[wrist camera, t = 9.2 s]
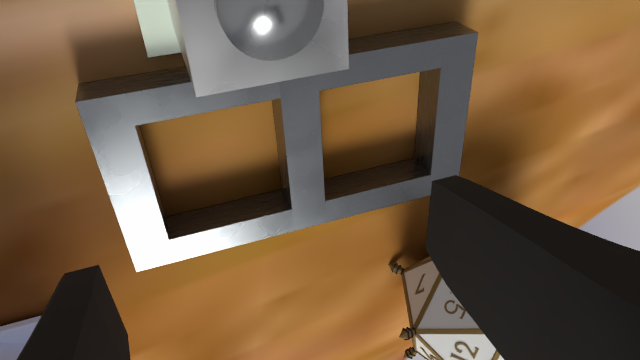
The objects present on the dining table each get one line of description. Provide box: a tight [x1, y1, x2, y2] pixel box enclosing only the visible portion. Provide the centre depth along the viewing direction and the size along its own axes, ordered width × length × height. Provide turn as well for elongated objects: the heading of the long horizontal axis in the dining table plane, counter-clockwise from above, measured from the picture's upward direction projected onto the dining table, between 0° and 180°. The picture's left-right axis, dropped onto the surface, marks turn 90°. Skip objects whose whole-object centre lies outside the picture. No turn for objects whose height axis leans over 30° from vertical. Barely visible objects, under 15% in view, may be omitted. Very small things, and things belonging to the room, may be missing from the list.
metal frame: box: [76, 22, 478, 272], centre depth 20 cm, size 15×8×2 cm, turn 93°
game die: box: [388, 256, 504, 360], centre depth 26 cm, size 9×8×10 cm
